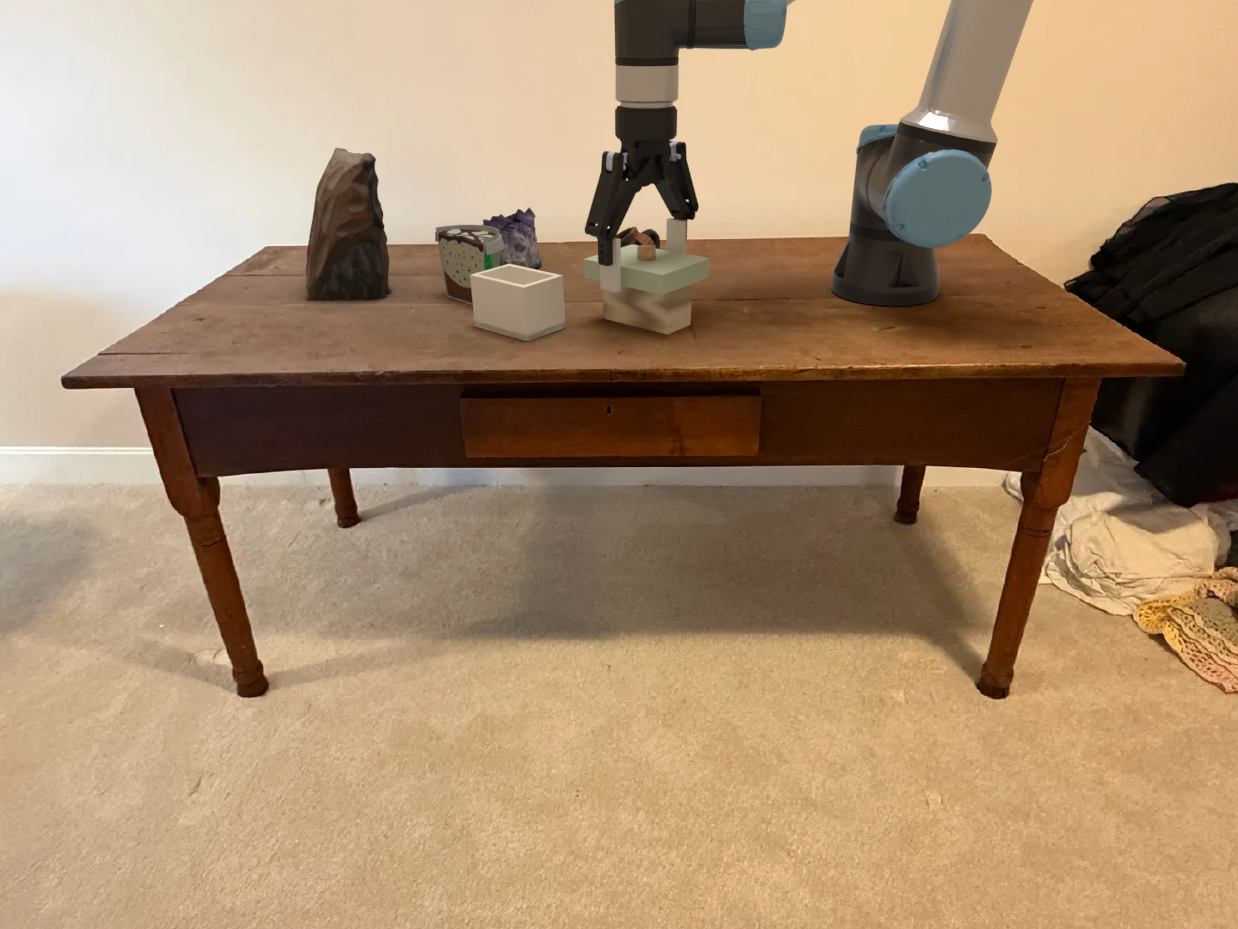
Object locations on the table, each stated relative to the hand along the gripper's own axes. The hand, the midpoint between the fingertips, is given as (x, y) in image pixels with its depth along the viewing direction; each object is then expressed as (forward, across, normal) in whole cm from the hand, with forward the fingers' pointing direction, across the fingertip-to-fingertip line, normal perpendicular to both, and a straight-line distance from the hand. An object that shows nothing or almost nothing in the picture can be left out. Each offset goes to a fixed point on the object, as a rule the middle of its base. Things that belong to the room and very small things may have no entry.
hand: (644, 278), depth 113 cm
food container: (+6, +6, -26) cm, 27 cm away
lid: (0, 0, 0) cm, 0 cm away
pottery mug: (+6, -19, -17) cm, 26 cm away
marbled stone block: (+6, 0, 0) cm, 6 cm away
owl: (+7, +16, -45) cm, 48 cm away
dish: (+6, +12, -12) cm, 18 cm away
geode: (+7, -7, -35) cm, 36 cm away
